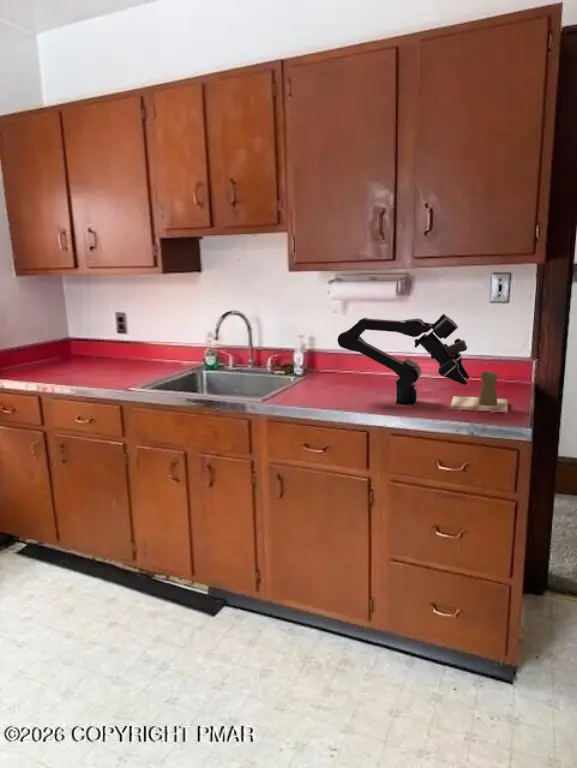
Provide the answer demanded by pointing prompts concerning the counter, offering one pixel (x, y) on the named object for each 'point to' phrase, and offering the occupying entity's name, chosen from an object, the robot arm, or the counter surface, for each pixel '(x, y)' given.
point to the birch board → (477, 404)
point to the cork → (488, 389)
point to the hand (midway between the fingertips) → (467, 381)
